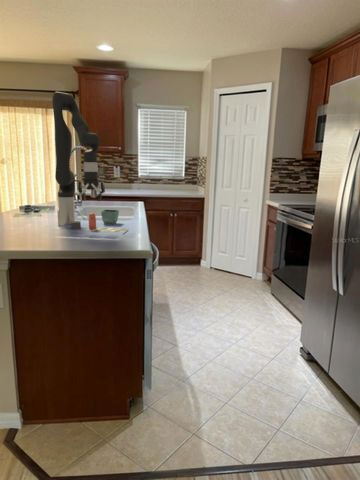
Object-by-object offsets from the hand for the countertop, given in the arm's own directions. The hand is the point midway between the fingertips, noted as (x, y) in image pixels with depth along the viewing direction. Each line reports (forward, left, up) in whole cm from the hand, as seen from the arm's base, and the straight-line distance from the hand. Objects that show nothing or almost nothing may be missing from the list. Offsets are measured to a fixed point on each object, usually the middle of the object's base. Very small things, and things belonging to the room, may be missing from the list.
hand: (91, 200), depth 195 cm
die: (-10, 0, -17) cm, 20 cm away
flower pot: (+4, +20, -17) cm, 27 cm away
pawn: (0, 0, -16) cm, 16 cm away
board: (+8, 0, -17) cm, 19 cm away
